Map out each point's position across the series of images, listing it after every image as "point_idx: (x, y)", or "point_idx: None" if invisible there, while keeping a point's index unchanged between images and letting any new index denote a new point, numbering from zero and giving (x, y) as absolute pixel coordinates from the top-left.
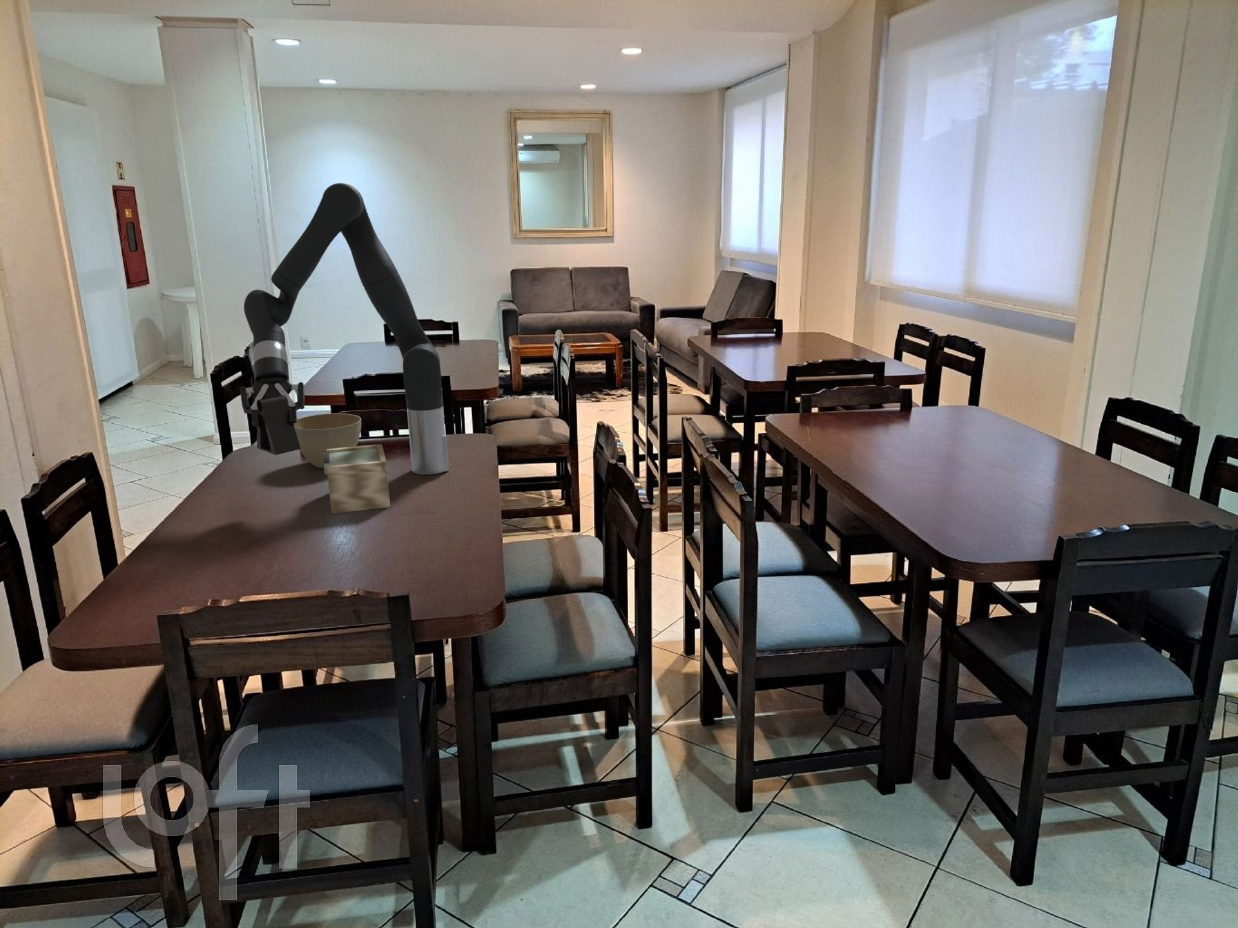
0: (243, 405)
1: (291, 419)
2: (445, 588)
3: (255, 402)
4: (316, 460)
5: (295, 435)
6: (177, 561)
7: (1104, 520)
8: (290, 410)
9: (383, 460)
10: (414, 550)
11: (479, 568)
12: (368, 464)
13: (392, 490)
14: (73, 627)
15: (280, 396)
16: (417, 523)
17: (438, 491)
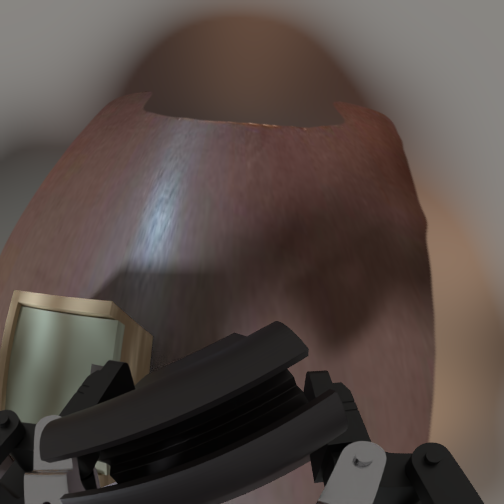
0: (442, 457)
1: (114, 363)
2: (122, 114)
3: (358, 502)
4: None
5: (140, 382)
6: (374, 213)
7: None
8: (87, 404)
9: (13, 303)
10: (104, 171)
11: (85, 136)
12: (38, 294)
13: None
14: (393, 129)
15: (86, 493)
16: (64, 242)
17: None
